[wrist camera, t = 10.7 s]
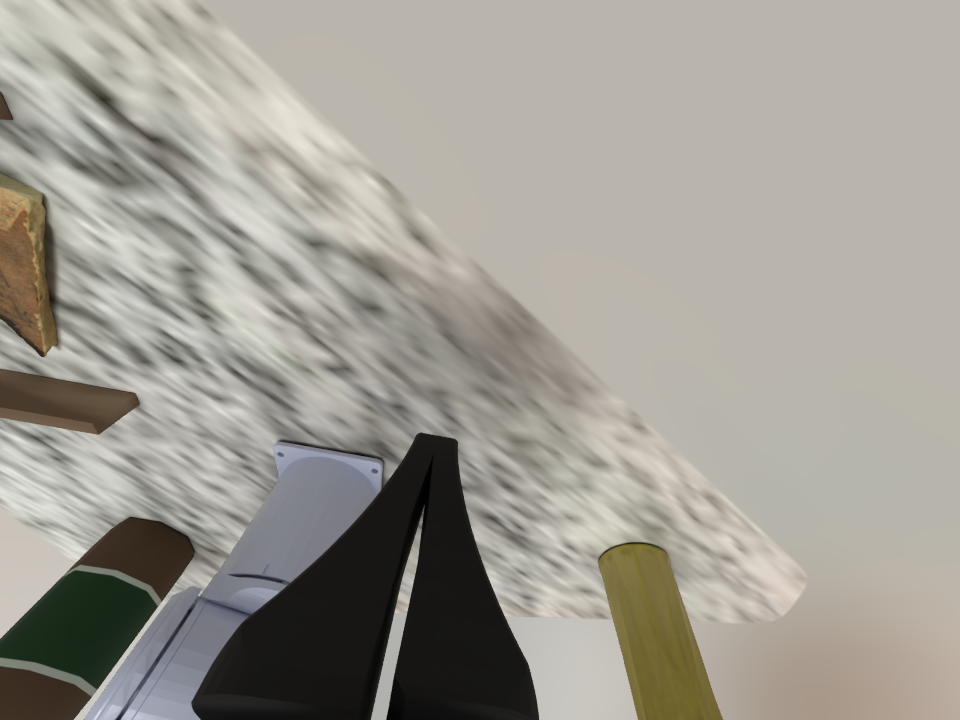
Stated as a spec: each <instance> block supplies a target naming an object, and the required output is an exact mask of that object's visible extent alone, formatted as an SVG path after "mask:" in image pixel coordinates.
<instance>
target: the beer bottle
mask: <svg viewBox="0 0 960 720" xmlns="http://www.w3.org/2000/svg"><path fill="white" fill-rule="evenodd" d="M194 552H195V551H194V549H193V547H192V545H191V543H190V541H189V539H188V537H187V536H185V535H183V534H181V533H179V532H177V531H176V530H174V529H172V528H170V527H168V526H167V525H165V524H163V523H161V522H156V521H149V520H143V519H136V518H129V519H127V520H125V521H124V522H122V523H120V524H119V525H117V526H116V527H114V528H112V529H111V530H110V531H109V532H108V533H107V534H106V535H104V536H103V537H102V538H101V539H100V540H99V541H98V542H97V543H96V544H95V545H94V546H92V547H91V548H90V549H89V550H88V551H87V552H86V553H85V554H84V555H83V556H82V557H81V558H80V559H79V560H78V561H77V562H76V563H75V564H74V566H72V567H71V568H70V570H69V571H68V572H67V573H66V574H65V575H64V576H63V577H62V578H61V579H60V580H59V581H58V582H57V583H56V584H55V585H54V586H53V587H52V588H51V589H50V590H49V591H48V592H47V593H46V594H45V595H44V596H43V597H42V598H41V599H40V600H39V601H38V602H37V603H36V604H35V605H34V606H33V607H32V608H31V609H30V610H29V611H28V612H27V613H26V614H25V615H24V616H23V617H22V618H21V619H20V620H19V621H18V622H17V623H16V624H15V625H14V626H13V627H12V628H11V629H10V630H9V631H8V632H7V633H6V634H5V635H4V636H3V637H2V638H1V639H0V720H74V718H75V717H76V716H77V715H78V714H79V712H80V711H81V709H83V707H84V706H85V705H86V704H87V702H88V701H89V700H90V699H91V697H92V696H93V695H94V693H95V692H96V691H97V689H98V688H99V687H100V685H101V684H102V682H103V681H104V680H105V678H106V677H107V676H108V674H109V673H110V672H111V670H112V669H113V667H114V666H115V665H116V663H117V662H118V661H119V659H120V658H121V657H122V655H123V654H124V652H125V651H126V650H127V648H128V647H129V645H130V644H131V643H132V641H133V640H134V639H135V637H136V636H137V635H138V633H139V632H140V631H141V629H142V628H143V627H144V625H145V623H146V622H147V621H148V620H149V618H150V617H151V615H152V614H153V613H154V611H155V610H156V609H157V607H158V606H159V605H160V603H161V602H162V601H163V599H164V598H165V597H166V595H167V594H168V592H169V591H170V590H171V588H172V587H173V586H174V584H175V583H176V581H177V580H178V579H179V577H180V576H181V575H182V573H183V572H184V570H185V569H186V567H187V566H188V564H189V563H190V561H191V560H192V558H193V557H194Z"/></svg>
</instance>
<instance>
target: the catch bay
mask: <svg viewBox="0 0 960 720" xmlns="http://www.w3.org/2000/svg"><path fill="white" fill-rule="evenodd" d="M0 119H7V120H13V119H12V117H11V115H10V112H9V110H8V108H7V106H6V103H5V101H4V99H3V97H2V94H1V92H0ZM138 405H139V402H138V400H137V397H136V395H135V393H129V392H124V391H118V390H113V389H107V388H102V387H96V386H91V385H85V384H79V383H74V382H68V381H63V380H57V379H52V378H46V377H41V376H35V375H30V374H24V373H19V372H13V371H8V370H2V369H0V418H6V419H11V420H17V421H23V422H29V423H34V424H40V425H46V426H52V427H57V428H63V429H69V430H75V431H80V432H86V433H92V434H98V435H99V434H100V433H102V432H103V431H104V430H106V429H107V428H108V427H110V426H111V425H112V424H114V423H115V422H116V421H118V420H119V419H120V418H122V417H123V416H124V415H126V414H127V413H129V412H130V411H131V410H133V409H134V408H135V407H137V406H138Z"/></svg>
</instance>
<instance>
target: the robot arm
mask: <svg viewBox="0 0 960 720" xmlns="http://www.w3.org/2000/svg"><path fill="white" fill-rule="evenodd" d="M273 450H274V455H275V460H276V465H277V471H278V476H279V480H278V481H277V483H276V484H275V486H274V488H273V489H272V491H271V492H270V494H269V495H268V497H267V498H266V500H265V501H264V503H263V504H262V506H261V507H260V509H259V510H258V512H257V514H256V515H255V517H254V518H253V520H252V521H251V523H250V524H249V526H248V527H247V529H246V530H245V532H244V533H243V535H242V536H241V538H240V540H239V541H238V543H237V544H236V546H235V547H234V549H233V550H232V552H231V553H230V555H229V556H228V558H227V559H226V561H225V562H224V564H223V566H222V567H221V569H220V570H219V572H218V573H216V575H215V576H214V577H213V579H212V580H211V582H210V583H209V585H208V586H207V587H206V589H205V590H204V592H203V593H202V594H201V596H200V597H199V596H198V594H199V593H200V591H201V589H200V588H197V587H194V586H191V587H189V588H188V589H187V590H186V591H182V592H180V593H177V594H175V595H173V596H172V597H171V598H170V600H169V601H168V602H167V604H166V605H165V606H164V608H163V609H162V610H161V612H160V613H159V614H158V616H157V617H156V618H155V620H154V621H153V622H152V624H151V625H150V626H149V628H148V629H147V631H146V632H145V633H144V635H143V636H142V637H141V639H140V640H139V642H138V643H137V644H136V646H135V647H134V649H133V650H132V651H131V653H130V654H129V656H128V657H127V658H126V660H125V661H124V663H123V664H122V665H121V667H120V668H119V670H118V671H117V672H116V674H115V675H114V677H113V678H112V680H111V681H110V682H109V684H108V685H107V687H106V688H105V689H104V691H103V692H102V694H101V695H100V697H99V698H98V700H97V701H96V702H95V704H94V705H93V707H92V708H91V709H90V711H89V712H88V714H87V715H86V717H85V718H84V720H371V716H372V712H373V707H374V702H375V698H376V693H377V689H378V684H379V680H380V675H381V670H382V666H383V661H384V657H385V652H386V648H387V643H388V639H389V634H390V630H391V625H392V621H393V616H394V612H395V607H396V603H397V599H398V594H399V590H400V585H401V581H402V577H403V574H404V570H405V567H406V563H407V560H408V557H409V554H410V550H411V547H412V544H413V541H414V537H415V534H416V531H417V528H418V525H419V521H420V518H421V515H422V512H423V508H424V505H425V508H424V516H423V524H422V532H421V540H420V549H419V557H418V564H417V569H416V574H415V579H414V584H413V588H412V593H411V598H410V603H409V608H408V612H407V617H406V622H405V627H404V631H403V637H402V641H401V646H400V651H399V655H398V660H397V665H396V669H395V674H394V680H393V686H392V692H391V698H390V703H389V709H388V714H387V719H386V720H539V713H538V707H537V699H536V694H535V689H534V685H533V681H532V677H531V673H530V669H529V665H528V663H527V661H526V659H525V657H524V655H523V653H522V651H521V649H520V647H519V645H518V643H517V641H516V639H515V637H514V635H513V633H512V631H511V629H510V627H509V625H508V623H507V620H506V618H505V616H504V614H503V612H502V609H501V607H500V605H499V603H498V600H497V598H496V595H495V593H494V591H493V588H492V586H491V583H490V581H489V578H488V576H487V573H486V571H485V568H484V565H483V563H482V560H481V557H480V554H479V551H478V548H477V545H476V542H475V539H474V535H473V532H472V529H471V525H470V521H469V517H468V513H467V510H466V505H465V501H464V496H463V491H462V485H461V480H460V473H459V465H458V441H457V440H456V439H452V438H447V437H441V436H436V435H430V434H425V433H419V434H417V435H416V437H415V440H414V442H413V444H412V445H411V447H410V449H409V451H408V452H407V454H406V456H405V457H404V459H403V460H402V462H401V464H400V465H399V466H398V468H397V469H396V471H395V472H394V474H393V475H392V476H391V478H390V479H389V481H388V482H387V483H386V485H385V486H384V487H383V488H382V472H383V463H382V461H381V460H379V459H375V458H370V457H364V456H359V455H353V454H347V453H342V452H336V451H330V450H325V449H319V448H314V447H308V446H302V445H297V444H291V443H285V442H277V443H276V444H275V445H274V447H273ZM381 488H382V490H381Z"/></svg>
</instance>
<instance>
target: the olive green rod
mask: <svg viewBox="0 0 960 720" xmlns="http://www.w3.org/2000/svg"><path fill="white" fill-rule="evenodd" d="M599 570H600V572H601V575H602V578H603V581H604V585H605V590H606V594H607V598H608V602H609V606H610V610H611V614H612V618H613V622H614V625H615V629H616V632H617V636H618V640H619V644H620V648H621V652H622V655H623V659H624V664H625V667H626V672H627V676H628V679H629V683H630V687H631V692H632V696H633V700H634V705H635V708H636V713H637V717H638V720H723V718H722V716H721V713H720V710H719V708H718V705H717V702H716V700H715V697H714V694H713V691H712V688H711V685H710V682H709V679H708V676H707V673H706V670H705V666H704V663H703V660H702V657H701V654H700V651H699V648H698V645H697V642H696V639H695V636H694V634H693V631H692V628H691V625H690V621H689V618H688V615H687V612H686V609H685V606H684V604H683V601H682V598H681V595H680V592H679V589H678V587H677V583H676V581H675V578H674V575H673V572H672V569H671V565H670V560H669V557H668V555H667V554H666V553H665V552H664V551H663V550H661V549H659V548H657V547H654V546H651V545H647V544H625V545H621V546H617V547H615V548H612V549H610V550H609V551H607V552H606V553H604V554H603V555H602V557H601V558H600V560H599Z"/></svg>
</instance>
